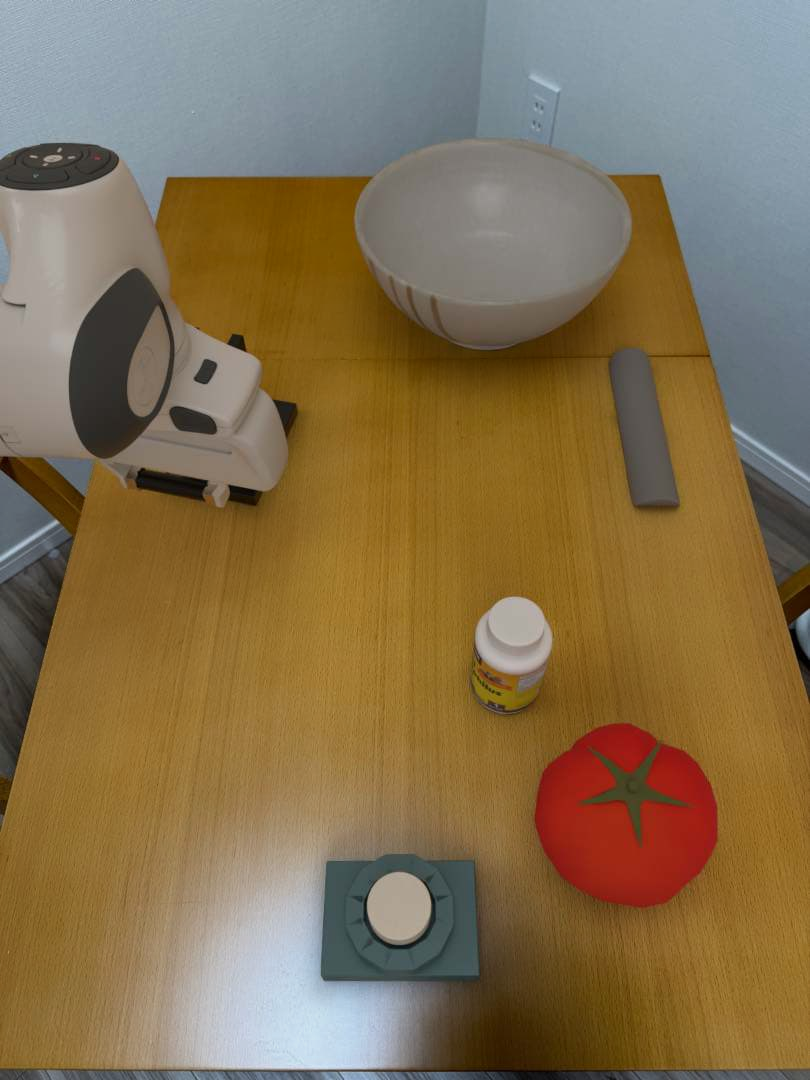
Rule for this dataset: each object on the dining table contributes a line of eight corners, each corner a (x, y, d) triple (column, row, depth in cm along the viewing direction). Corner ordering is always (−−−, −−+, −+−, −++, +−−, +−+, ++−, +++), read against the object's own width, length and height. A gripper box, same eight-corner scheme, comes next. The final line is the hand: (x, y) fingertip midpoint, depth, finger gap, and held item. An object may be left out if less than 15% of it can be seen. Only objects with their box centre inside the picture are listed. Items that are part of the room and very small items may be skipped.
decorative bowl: (349, 396, 86) (339, 299, 76) (372, 233, 101) (366, 134, 91) (620, 405, 84) (646, 307, 74) (601, 238, 100) (620, 138, 90)
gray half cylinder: (649, 360, 88) (653, 347, 86) (681, 512, 77) (686, 500, 75) (607, 360, 88) (610, 347, 87) (633, 512, 77) (637, 499, 75)
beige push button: (367, 945, 53) (366, 940, 52) (369, 878, 56) (367, 871, 54) (431, 945, 53) (431, 940, 52) (430, 878, 56) (430, 871, 54)
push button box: (323, 981, 55) (317, 971, 52) (329, 869, 59) (323, 853, 56) (477, 980, 55) (481, 970, 52) (473, 868, 59) (476, 852, 56)
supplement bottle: (456, 671, 68) (461, 605, 60) (516, 641, 69) (529, 573, 61) (492, 729, 65) (503, 669, 57) (554, 697, 67) (573, 634, 58)
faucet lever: (211, 505, 71) (201, 497, 69) (144, 492, 72) (133, 484, 70) (251, 360, 74) (243, 347, 72) (187, 349, 75) (176, 336, 72)
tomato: (678, 756, 64) (718, 697, 55) (710, 921, 57) (761, 883, 49) (518, 757, 64) (533, 699, 55) (531, 922, 57) (551, 885, 49)
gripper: (-24, 376, 60) (47, 497, 71) (251, 427, 57) (279, 545, 68) (21, 318, 63) (81, 442, 75) (282, 362, 60) (304, 485, 72)
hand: (177, 492), depth 71 cm, fingers closed on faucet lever, 6 cm apart
